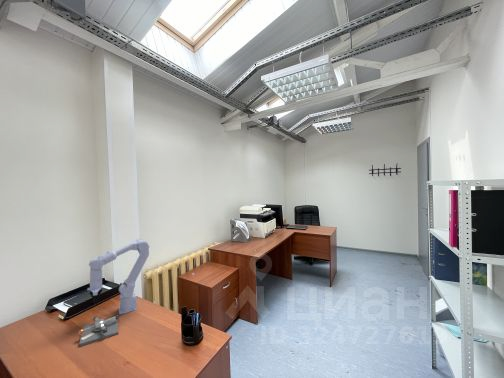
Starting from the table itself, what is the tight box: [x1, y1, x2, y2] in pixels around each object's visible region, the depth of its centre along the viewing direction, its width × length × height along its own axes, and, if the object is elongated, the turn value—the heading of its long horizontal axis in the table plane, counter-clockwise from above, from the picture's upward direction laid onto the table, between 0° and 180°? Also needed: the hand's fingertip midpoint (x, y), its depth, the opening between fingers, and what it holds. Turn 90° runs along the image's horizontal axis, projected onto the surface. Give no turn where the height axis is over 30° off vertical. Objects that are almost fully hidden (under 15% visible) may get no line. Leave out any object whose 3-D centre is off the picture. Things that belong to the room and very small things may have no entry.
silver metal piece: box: [77, 314, 120, 336], centre depth 115 cm, size 18×18×4 cm
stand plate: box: [78, 318, 119, 348], centre depth 115 cm, size 16×16×1 cm
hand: (96, 302), depth 124 cm, fingers closed
